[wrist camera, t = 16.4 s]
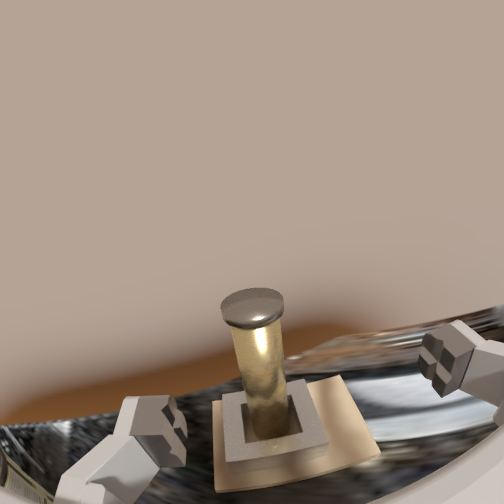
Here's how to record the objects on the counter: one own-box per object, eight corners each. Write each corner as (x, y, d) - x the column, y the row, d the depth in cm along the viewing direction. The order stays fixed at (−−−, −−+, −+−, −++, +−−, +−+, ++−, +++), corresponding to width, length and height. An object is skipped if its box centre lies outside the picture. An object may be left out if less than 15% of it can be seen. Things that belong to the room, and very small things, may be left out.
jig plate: (339, 379, 40) (339, 374, 40) (379, 455, 25) (380, 452, 25) (213, 405, 39) (212, 401, 39) (217, 493, 24) (215, 490, 24)
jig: (305, 394, 38) (304, 378, 37) (327, 455, 27) (328, 441, 26) (227, 409, 37) (222, 394, 36) (232, 474, 26) (225, 462, 25)
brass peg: (288, 408, 36) (276, 283, 29) (297, 439, 30) (289, 311, 24) (247, 416, 35) (220, 293, 29) (252, 448, 30) (221, 323, 23)
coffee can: (19, 541, 9) (-57, 486, 4) (27, 491, 18) (-35, 431, 14) (75, 559, 10) (-10, 511, 6) (77, 500, 20) (11, 440, 16)
